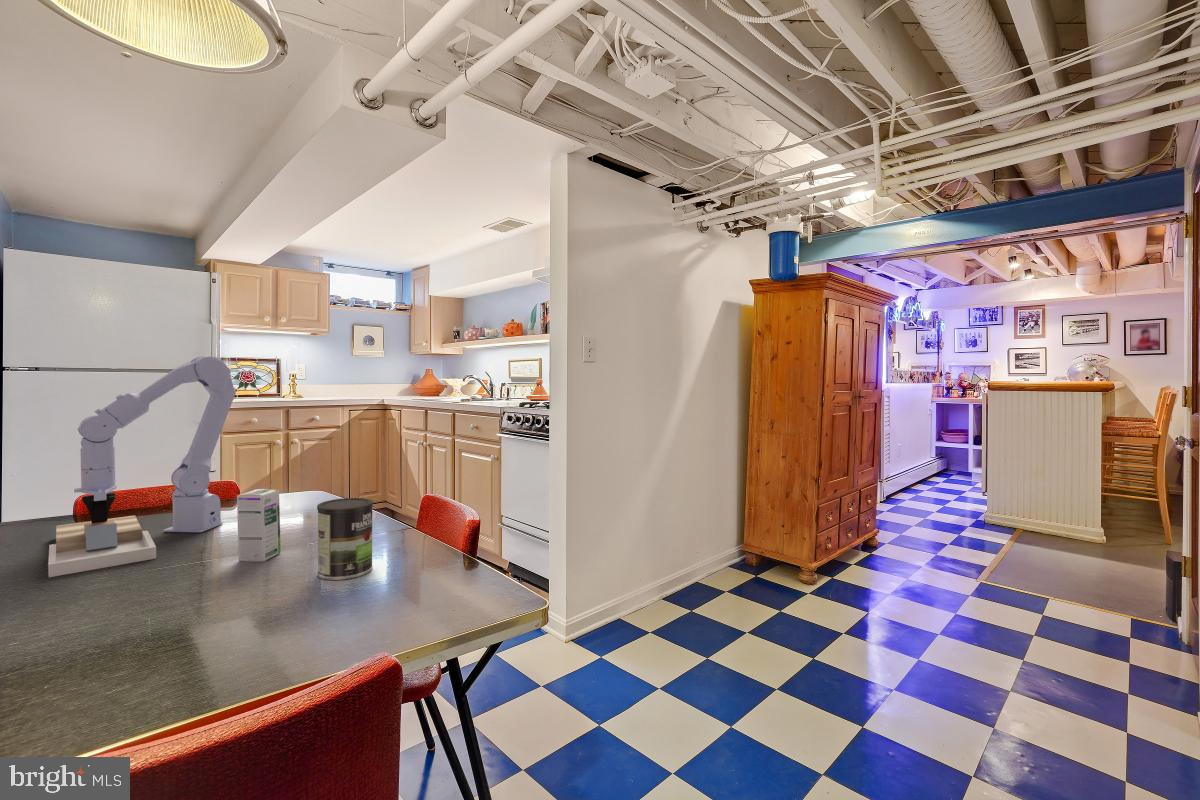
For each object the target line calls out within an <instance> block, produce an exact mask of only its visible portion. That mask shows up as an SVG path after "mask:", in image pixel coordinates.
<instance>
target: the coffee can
mask: <svg viewBox="0 0 1200 800" xmlns="http://www.w3.org/2000/svg"><path fill="white" fill-rule="evenodd" d="M373 506H374V500H372V499H370V498H363V497H346V498H335V499H329V500H326V501H325V500H324V501H323V502H320V503H318V504H317V506H316V509H317V552H318V553H317V577H319V578H320V579H322V580H327V581H345V580H351V578H352V579H356V578H359V577H362V576H365V575H367V574H369V573H370V572H371V571H372V570H373V567H374V566H373ZM368 572H369V573H368ZM366 573H367V574H366ZM364 574H365V575H364ZM361 575H362V576H361ZM355 577H356V578H355Z"/></svg>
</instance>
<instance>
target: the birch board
mask: <svg viewBox="0 0 1200 800" xmlns="http://www.w3.org/2000/svg"><path fill="white" fill-rule="evenodd" d="M107 521H114V522H115V523H117V544H118V543H124V542H131V541H137V540H142V531H143V528H142V526H141V525H140V523H139V520H138V519H137V516H136V515H128V516H122V517H121V516H120V517H113V518H108V519H107ZM91 523H92V522H91V520H90V521H82V522H75V523H74V522H73V523H67V524H66V523H65V524H61V525H60V524H59V525H56V528H55V530H56V531H55V532H56V533H55V534H56V535H55V538H56V539H55V544H56V553H60V552H66V551H73V550H79V549H85V548H86V538H85V536H84V524H91Z"/></svg>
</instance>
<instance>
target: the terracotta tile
mask: <svg viewBox="0 0 1200 800" xmlns="http://www.w3.org/2000/svg"><path fill="white" fill-rule="evenodd" d="M113 523H115V522H114V521H106V522H99V523H91V524H84V536H85V538H86V534H85V527H91V526H98V525H106V524H113Z"/></svg>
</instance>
